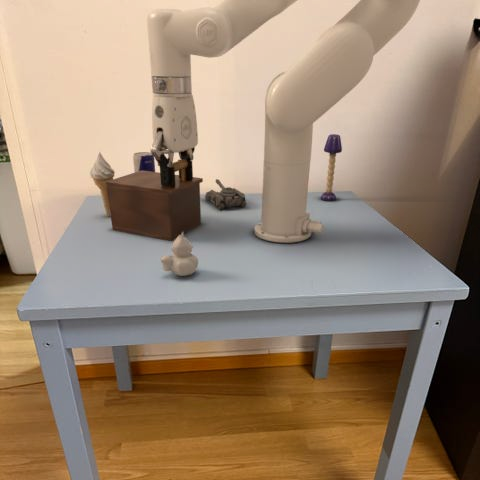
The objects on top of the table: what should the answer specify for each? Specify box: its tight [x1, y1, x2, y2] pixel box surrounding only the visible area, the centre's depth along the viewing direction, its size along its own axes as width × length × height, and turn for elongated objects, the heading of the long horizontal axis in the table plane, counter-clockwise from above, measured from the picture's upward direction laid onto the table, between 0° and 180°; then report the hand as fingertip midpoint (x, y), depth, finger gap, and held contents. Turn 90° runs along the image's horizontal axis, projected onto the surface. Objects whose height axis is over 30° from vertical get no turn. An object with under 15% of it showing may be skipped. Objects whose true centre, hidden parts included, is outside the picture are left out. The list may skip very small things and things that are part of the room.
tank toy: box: [204, 178, 247, 211], centre depth 119 cm, size 12×10×5 cm
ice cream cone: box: [89, 151, 116, 217], centre depth 106 cm, size 6×6×15 cm
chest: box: [107, 183, 202, 242], centre depth 101 cm, size 16×13×10 cm
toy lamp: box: [320, 133, 343, 202], centre depth 121 cm, size 5×5×17 cm
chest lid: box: [106, 159, 204, 195], centre depth 97 cm, size 16×13×5 cm
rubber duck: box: [160, 232, 199, 277], centre depth 79 cm, size 5×7×8 cm
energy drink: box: [132, 151, 156, 173], centre depth 119 cm, size 5×5×12 cm
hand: (177, 182), depth 96 cm, fingers closed on chest lid, 6 cm apart
